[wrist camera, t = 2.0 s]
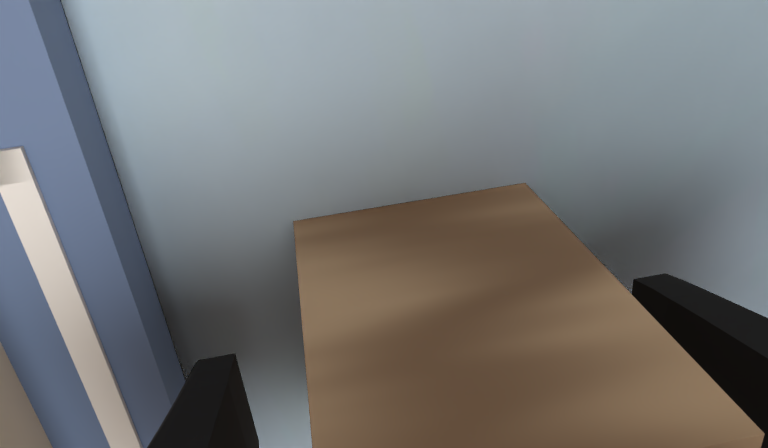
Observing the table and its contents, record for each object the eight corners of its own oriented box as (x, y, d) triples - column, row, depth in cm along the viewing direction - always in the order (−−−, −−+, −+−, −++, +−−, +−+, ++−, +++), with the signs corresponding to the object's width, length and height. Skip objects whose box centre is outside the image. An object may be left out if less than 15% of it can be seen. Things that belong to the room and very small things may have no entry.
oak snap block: (525, 182, 12) (812, 482, 6) (523, 362, 14) (730, 726, 8) (293, 220, 11) (324, 594, 5) (327, 400, 13) (378, 821, 7)
